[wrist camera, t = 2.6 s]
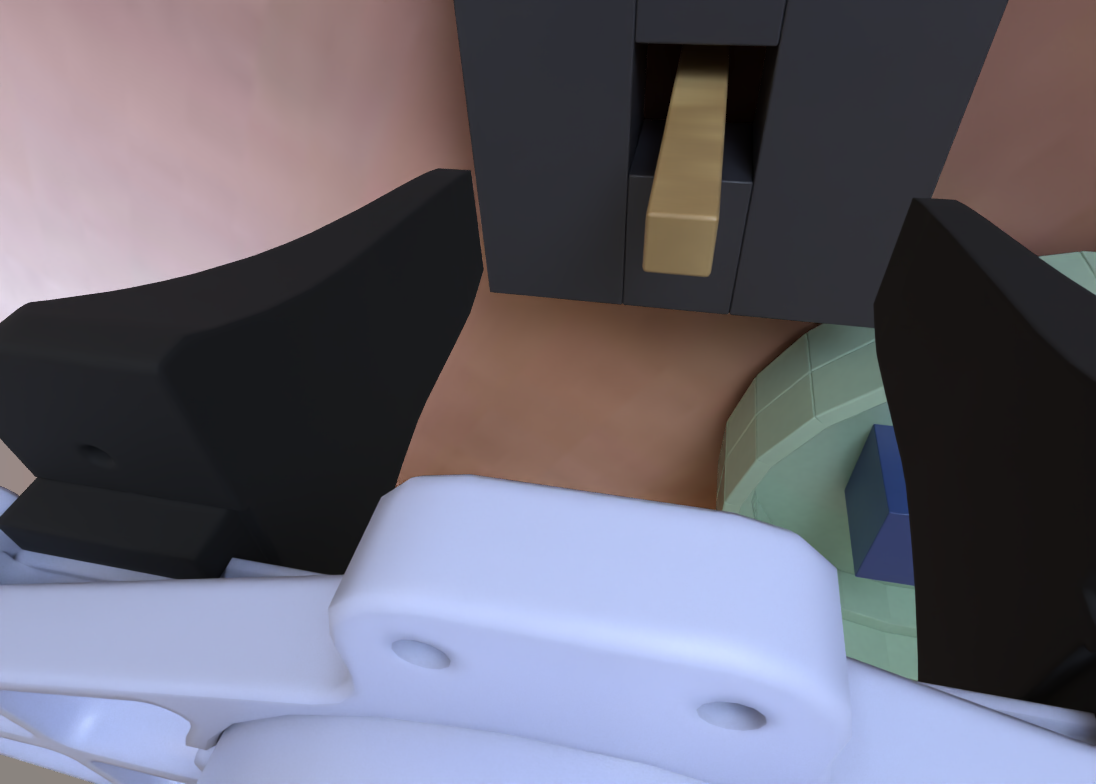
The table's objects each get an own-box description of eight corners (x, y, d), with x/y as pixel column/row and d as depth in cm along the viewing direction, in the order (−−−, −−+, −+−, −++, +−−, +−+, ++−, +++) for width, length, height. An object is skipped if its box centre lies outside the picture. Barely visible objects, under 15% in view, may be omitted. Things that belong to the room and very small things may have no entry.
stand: (1031, -232, 13) (1097, -224, 10) (865, 258, 20) (880, 329, 18) (481, -208, 15) (427, -195, 12) (517, 232, 22) (489, 292, 20)
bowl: (1556, 273, 17) (1741, 397, 14) (1126, 629, 30) (1170, 733, 27) (767, 219, 20) (770, 308, 17) (695, 560, 34) (690, 644, 31)
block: (993, 437, 24) (1026, 531, 21) (951, 504, 26) (974, 596, 24) (873, 423, 24) (888, 512, 22) (844, 490, 27) (854, 577, 24)
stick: (730, 39, 17) (719, 218, 11) (723, 88, 18) (710, 280, 12) (683, 38, 17) (645, 213, 11) (679, 85, 18) (641, 273, 12)
